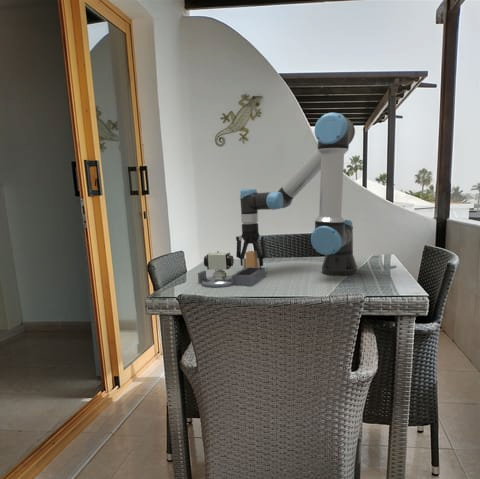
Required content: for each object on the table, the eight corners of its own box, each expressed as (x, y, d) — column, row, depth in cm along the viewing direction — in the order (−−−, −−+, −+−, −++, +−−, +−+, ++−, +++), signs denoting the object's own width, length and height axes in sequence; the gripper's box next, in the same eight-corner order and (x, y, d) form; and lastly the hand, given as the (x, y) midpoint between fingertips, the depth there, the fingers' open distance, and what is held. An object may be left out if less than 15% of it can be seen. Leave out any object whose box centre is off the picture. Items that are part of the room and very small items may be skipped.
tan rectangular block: (258, 272, 165) (257, 251, 164) (255, 274, 161) (253, 252, 160) (250, 272, 167) (248, 251, 165) (246, 274, 163) (245, 252, 162)
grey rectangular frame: (265, 276, 156) (265, 267, 155) (251, 286, 140) (251, 276, 140) (247, 275, 159) (247, 267, 159) (232, 285, 144) (231, 275, 143)
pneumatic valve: (231, 280, 145) (230, 251, 143) (204, 280, 148) (202, 252, 146) (235, 277, 150) (233, 249, 149) (209, 277, 153) (207, 250, 152)
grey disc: (246, 279, 152) (245, 269, 151) (231, 288, 138) (231, 277, 138) (209, 278, 159) (208, 268, 158) (192, 286, 145) (191, 275, 145)
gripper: (273, 222, 161) (275, 271, 164) (233, 222, 169) (235, 270, 171) (267, 223, 154) (270, 275, 157) (226, 224, 162) (229, 273, 164)
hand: (252, 272), depth 164 cm, fingers open, 7 cm apart
